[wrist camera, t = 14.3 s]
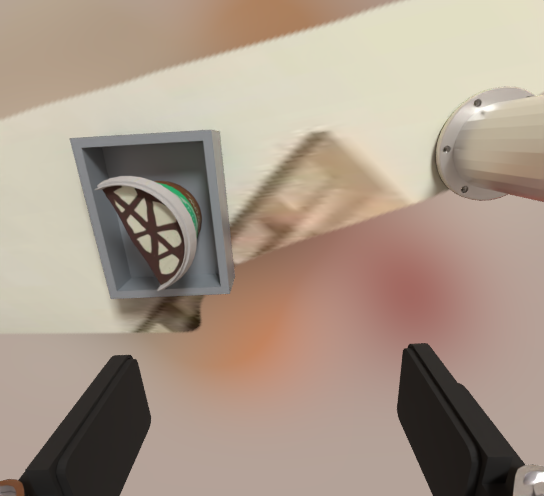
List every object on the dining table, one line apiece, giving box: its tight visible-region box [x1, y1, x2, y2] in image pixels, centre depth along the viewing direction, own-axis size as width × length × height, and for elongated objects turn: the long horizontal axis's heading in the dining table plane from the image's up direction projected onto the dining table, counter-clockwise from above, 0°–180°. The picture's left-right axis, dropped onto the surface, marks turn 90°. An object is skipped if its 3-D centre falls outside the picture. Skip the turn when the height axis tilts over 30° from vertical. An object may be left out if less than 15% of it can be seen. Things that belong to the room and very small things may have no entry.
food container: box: [95, 176, 202, 291], centre depth 34 cm, size 12×6×10 cm, turn 24°
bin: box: [70, 130, 235, 299], centre depth 37 cm, size 15×19×5 cm
